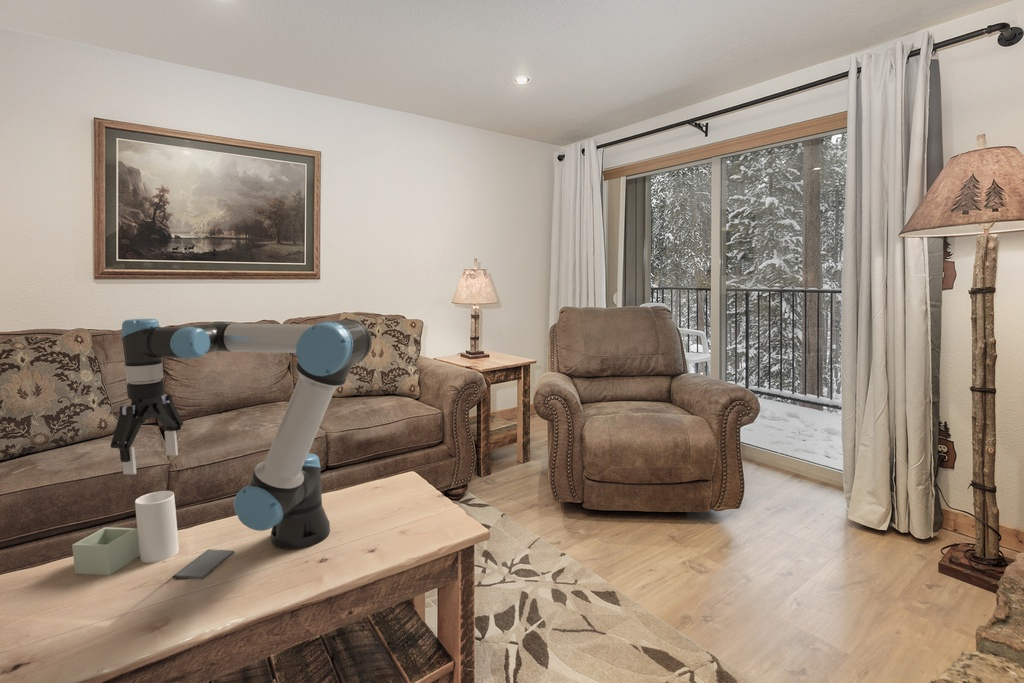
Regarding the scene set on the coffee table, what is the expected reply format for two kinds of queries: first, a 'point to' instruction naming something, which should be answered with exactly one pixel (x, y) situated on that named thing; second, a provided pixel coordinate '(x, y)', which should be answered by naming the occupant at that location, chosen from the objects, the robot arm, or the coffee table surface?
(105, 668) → the coffee table surface
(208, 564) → the coaster
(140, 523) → the cup
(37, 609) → the coffee table surface
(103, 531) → the planter
